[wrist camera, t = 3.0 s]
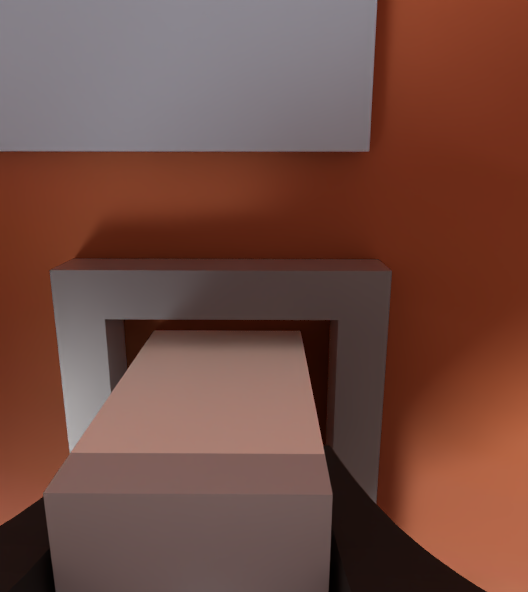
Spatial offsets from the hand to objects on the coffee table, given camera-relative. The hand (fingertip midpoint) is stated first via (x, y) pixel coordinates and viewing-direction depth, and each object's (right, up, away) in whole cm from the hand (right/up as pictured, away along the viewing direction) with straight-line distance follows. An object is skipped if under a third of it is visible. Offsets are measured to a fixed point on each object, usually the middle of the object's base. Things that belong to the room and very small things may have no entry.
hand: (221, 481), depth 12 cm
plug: (0, +1, +2) cm, 2 cm away
